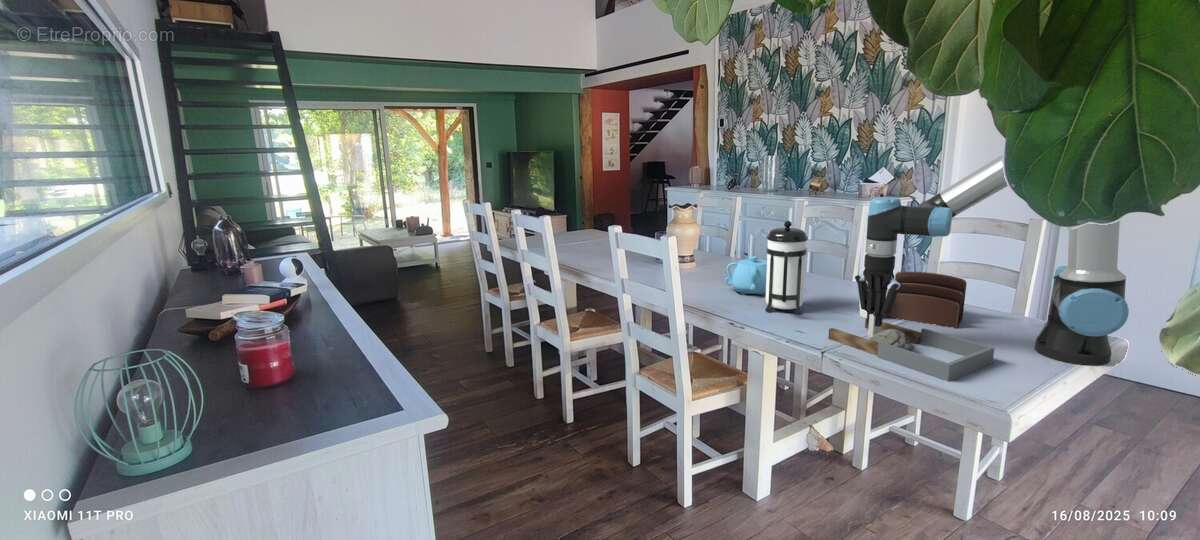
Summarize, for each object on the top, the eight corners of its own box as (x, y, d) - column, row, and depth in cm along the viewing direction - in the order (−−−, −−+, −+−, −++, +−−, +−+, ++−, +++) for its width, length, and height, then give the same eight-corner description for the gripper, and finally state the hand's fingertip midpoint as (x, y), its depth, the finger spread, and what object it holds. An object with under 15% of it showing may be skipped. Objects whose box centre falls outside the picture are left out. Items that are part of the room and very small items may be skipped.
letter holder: (892, 309, 186) (896, 268, 183) (962, 320, 174) (968, 276, 171) (884, 317, 179) (888, 274, 176) (957, 329, 166) (962, 283, 163)
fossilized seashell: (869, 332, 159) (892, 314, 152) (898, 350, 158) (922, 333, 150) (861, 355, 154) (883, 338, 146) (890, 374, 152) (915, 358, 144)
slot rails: (920, 342, 156) (921, 332, 156) (879, 356, 148) (880, 345, 147) (867, 327, 170) (868, 317, 169) (828, 338, 161) (828, 328, 160)
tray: (992, 362, 142) (994, 347, 141) (947, 381, 132) (949, 365, 131) (922, 341, 157) (923, 328, 156) (877, 357, 147) (878, 342, 146)
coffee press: (749, 306, 193) (751, 220, 186) (786, 300, 199) (790, 216, 192) (782, 320, 178) (787, 227, 171) (822, 313, 183) (828, 222, 177)
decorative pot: (755, 284, 222) (756, 250, 219) (784, 293, 208) (785, 257, 205) (721, 290, 216) (722, 255, 213) (749, 299, 201) (750, 262, 198)
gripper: (850, 252, 157) (844, 332, 162) (894, 260, 146) (886, 345, 151) (867, 249, 161) (861, 327, 166) (911, 256, 150) (903, 340, 155)
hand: (873, 335), depth 159 cm, fingers closed
